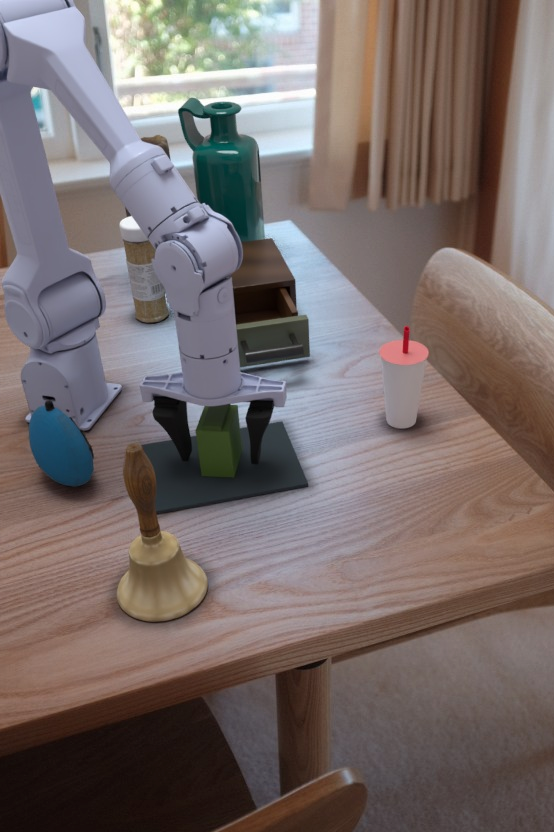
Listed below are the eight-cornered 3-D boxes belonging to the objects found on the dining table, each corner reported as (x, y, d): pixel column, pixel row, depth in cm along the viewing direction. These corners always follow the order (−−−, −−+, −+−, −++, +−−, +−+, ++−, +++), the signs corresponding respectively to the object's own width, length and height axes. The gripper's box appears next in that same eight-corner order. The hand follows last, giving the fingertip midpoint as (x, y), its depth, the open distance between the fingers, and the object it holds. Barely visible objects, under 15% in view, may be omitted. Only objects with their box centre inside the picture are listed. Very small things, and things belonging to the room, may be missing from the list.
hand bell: (100, 611, 81) (63, 469, 71) (142, 551, 87) (114, 412, 77) (184, 631, 79) (159, 487, 69) (222, 568, 85) (203, 428, 75)
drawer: (318, 373, 110) (317, 335, 107) (234, 387, 108) (230, 347, 105) (287, 311, 123) (285, 275, 119) (210, 322, 120) (206, 285, 117)
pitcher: (267, 245, 141) (258, 95, 127) (256, 268, 135) (244, 113, 121) (206, 242, 142) (190, 93, 128) (192, 265, 136) (173, 111, 122)
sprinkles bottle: (158, 305, 126) (143, 210, 118) (175, 317, 124) (161, 221, 115) (129, 315, 124) (112, 219, 115) (145, 327, 121) (129, 230, 113)
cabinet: (297, 329, 121) (295, 279, 116) (211, 341, 118) (205, 291, 114) (275, 285, 131) (272, 237, 126) (195, 296, 128) (189, 248, 124)
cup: (427, 432, 102) (433, 337, 94) (379, 434, 102) (381, 339, 94) (421, 406, 106) (426, 313, 98) (376, 408, 106) (377, 315, 98)
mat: (308, 486, 95) (308, 483, 94) (155, 514, 91) (154, 511, 91) (282, 424, 104) (282, 421, 103) (141, 447, 100) (141, 444, 100)
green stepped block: (234, 477, 95) (228, 426, 91) (201, 476, 96) (194, 425, 91) (242, 450, 99) (237, 399, 95) (210, 448, 99) (204, 398, 95)
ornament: (112, 483, 95) (95, 403, 89) (78, 506, 93) (57, 425, 86) (61, 455, 99) (41, 377, 93) (27, 476, 96) (3, 396, 90)
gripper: (287, 327, 91) (293, 438, 99) (145, 322, 92) (163, 432, 100) (277, 363, 85) (285, 477, 94) (126, 357, 86) (147, 471, 95)
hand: (221, 457), depth 97 cm, fingers open, 7 cm apart
